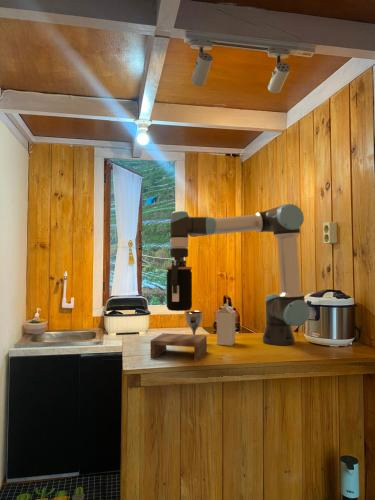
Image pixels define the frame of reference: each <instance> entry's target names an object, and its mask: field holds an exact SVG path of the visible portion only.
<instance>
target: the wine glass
mask: <svg viewBox="0 0 375 500" xmlns="http://www.w3.org/2000/svg"><path fill="white" fill-rule="evenodd" d="M185 321H186V324H187V326H188V327H189V329H191V331H192V335H196V331H197V330H198V329H199V327H200V325H201V324H202V321H203V311H200V310H187V311H185Z"/></svg>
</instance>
